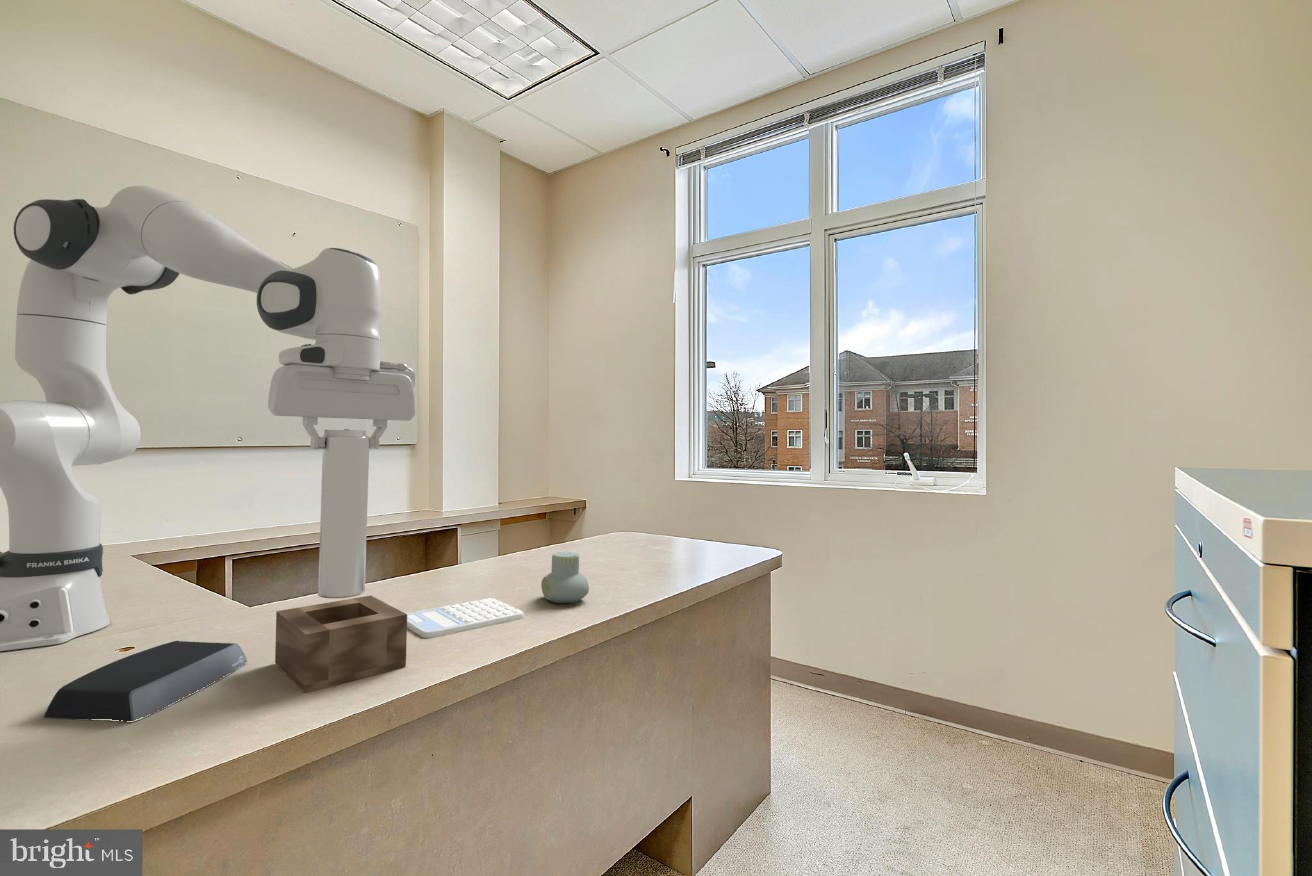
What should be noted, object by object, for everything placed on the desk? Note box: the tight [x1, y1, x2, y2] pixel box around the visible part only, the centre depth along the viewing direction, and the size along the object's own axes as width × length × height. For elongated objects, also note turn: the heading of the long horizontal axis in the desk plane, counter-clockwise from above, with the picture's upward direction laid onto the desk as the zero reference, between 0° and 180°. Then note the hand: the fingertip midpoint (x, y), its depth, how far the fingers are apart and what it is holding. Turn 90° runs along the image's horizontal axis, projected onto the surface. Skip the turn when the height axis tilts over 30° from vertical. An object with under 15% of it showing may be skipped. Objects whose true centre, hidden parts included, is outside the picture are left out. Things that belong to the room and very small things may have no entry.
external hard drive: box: [43, 640, 249, 721], centre depth 84 cm, size 13×19×4 cm
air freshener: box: [540, 551, 590, 604], centre depth 132 cm, size 11×8×10 cm
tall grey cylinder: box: [317, 428, 371, 599], centre depth 93 cm, size 6×6×25 cm
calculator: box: [404, 597, 525, 639], centre depth 117 cm, size 13×20×2 cm, turn 133°
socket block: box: [274, 595, 408, 693], centre depth 93 cm, size 14×14×8 cm
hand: (345, 448), depth 93 cm, fingers closed on tall grey cylinder, 6 cm apart
